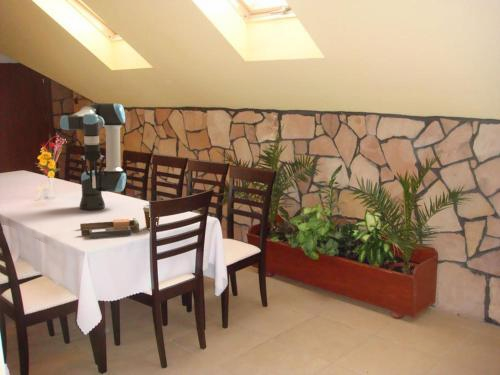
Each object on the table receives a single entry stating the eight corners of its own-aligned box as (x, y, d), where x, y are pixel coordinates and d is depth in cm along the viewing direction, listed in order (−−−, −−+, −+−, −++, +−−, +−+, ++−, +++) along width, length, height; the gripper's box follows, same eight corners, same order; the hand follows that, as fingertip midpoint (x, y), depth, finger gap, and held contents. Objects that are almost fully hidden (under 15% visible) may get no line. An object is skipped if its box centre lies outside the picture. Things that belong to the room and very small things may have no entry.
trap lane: (80, 229, 278) (80, 221, 278) (135, 225, 288) (135, 218, 287) (82, 239, 261) (81, 231, 260) (140, 234, 271) (140, 227, 270)
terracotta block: (113, 228, 281) (113, 219, 280) (128, 227, 283) (128, 218, 282) (113, 231, 276) (113, 222, 275) (129, 230, 278) (129, 221, 277)
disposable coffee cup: (162, 225, 288) (161, 204, 286) (159, 230, 279) (159, 208, 277) (145, 225, 288) (144, 204, 286) (142, 230, 279) (141, 208, 276)
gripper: (79, 145, 267) (81, 190, 272) (105, 144, 271) (107, 188, 277) (78, 143, 273) (80, 186, 279) (104, 142, 278) (105, 185, 284)
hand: (94, 187), depth 278 cm, fingers closed
